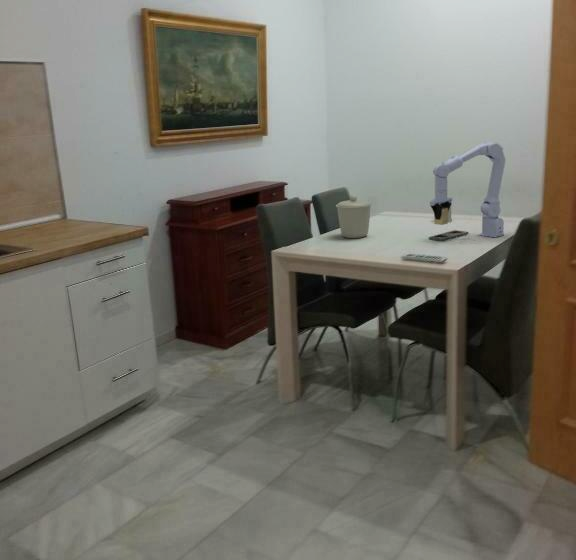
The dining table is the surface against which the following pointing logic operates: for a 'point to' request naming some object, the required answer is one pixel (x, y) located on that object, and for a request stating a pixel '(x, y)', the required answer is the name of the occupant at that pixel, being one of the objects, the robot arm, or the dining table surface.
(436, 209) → the robot arm
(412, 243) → the dining table surface
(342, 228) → the canister
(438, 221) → the block
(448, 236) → the grey frame plate
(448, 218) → the can
